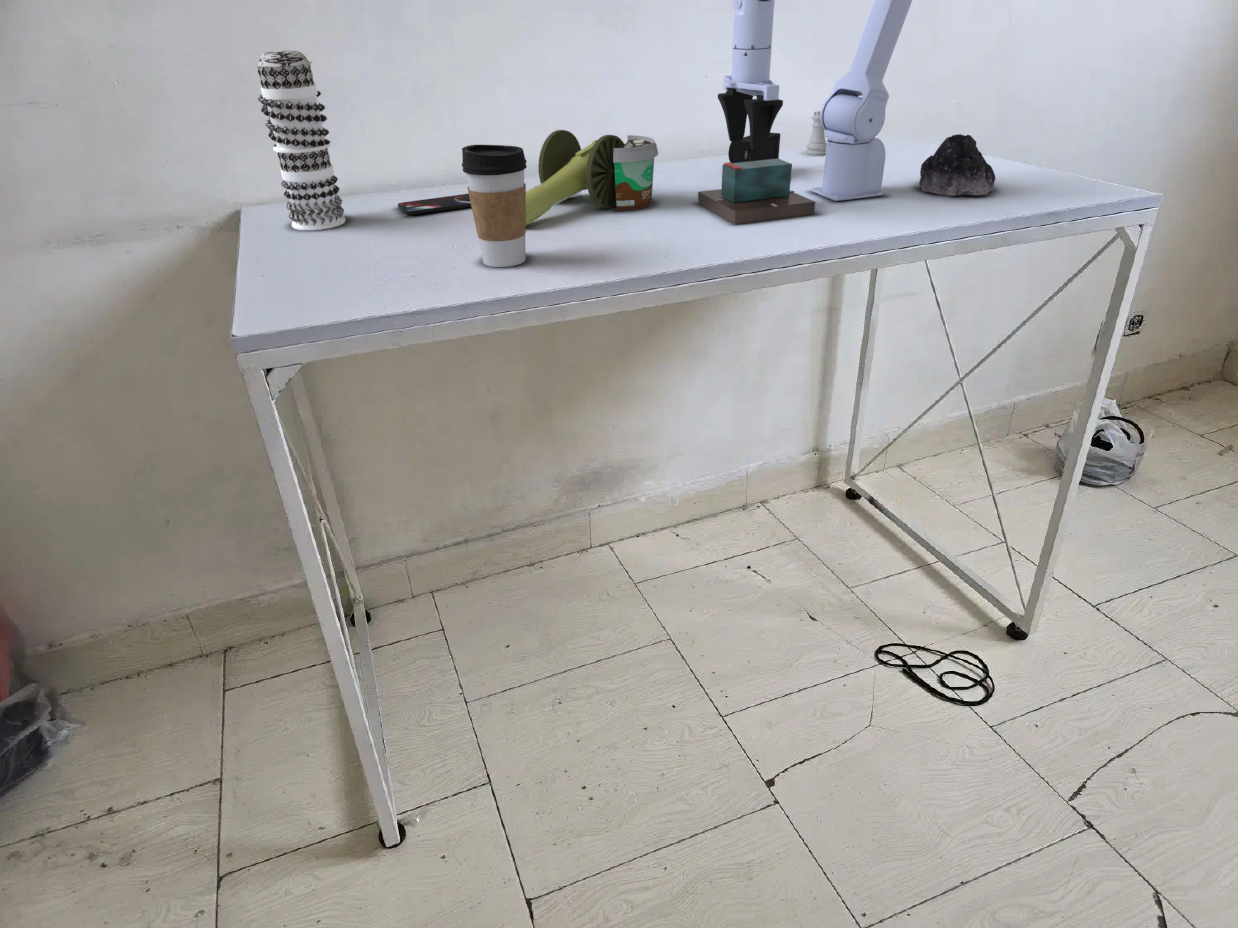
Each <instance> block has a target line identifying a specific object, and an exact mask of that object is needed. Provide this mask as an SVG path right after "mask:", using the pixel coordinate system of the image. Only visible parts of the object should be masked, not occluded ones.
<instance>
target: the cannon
mask: <svg viewBox="0 0 1238 928" xmlns="http://www.w3.org/2000/svg"><path fill="white" fill-rule="evenodd" d="M622 144H625V142H624V141H623V140H622V139H621V137H619V136H618V135H615V134H605V135H602V136H601V137H599V138H598V139H597V140H596V139H595V140H593V141H592V142H591V143H590V144H588V145H586V146H585V147H583V148H582V147H581V145H580V142H579V140H578V138H577V137H576V136H575V135H574V133H572V132H571V131H569V130H566V129H557V130H554V131H552V132H551V133H550V134H549V135H547V137H546V138H545V140H544V142H543V144H542V145H541V149H540V151H539V157H538V178H539V182H540V184H539V185H534V186H533V187H531V188H530V189H528V190H526V227H527V226H528V225H530V224H532V223H533V222H534V221H536V220H538V219H539V218H541V217H542V216H543V215H545V214H546V213H549V211H551V209H552V207H555V206H556V205H559V203H560V204H561V203H562V202H564V201H566V200H568V199H570V198H571V197H573V196H575V195H577V194H578V193H581V192H582V191H587V192H588V195H589V198H590V199H591V200H592V202H593V203H594V204H595V205H596V206H597V207H599V208H604V209H612V208H614V207H615V206H616V188H615V168H614V162H613V153H614V148H620V147H621V145H622Z"/></svg>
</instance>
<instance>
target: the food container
mask: <svg viewBox="0 0 1238 928" xmlns="http://www.w3.org/2000/svg"><path fill="white" fill-rule="evenodd" d="M657 156H659V150H658V146H657V142H656V140H655V139H654V138H653V137H649V136H646V135H645V136H644V135H635V134H634V135H632V134H627V140H626V143H624V144H622V145H621V147H620V148H614V153H613V162H614V168H615V188H616V205H615V206H616V211H617V212H624V211H625V212H626V211H636V210H641V209H646V208H648V207H650V206H651V205H652V202H653V201H652V200H653V185H654V168H655V158H656V157H657Z"/></svg>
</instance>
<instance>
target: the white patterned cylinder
mask: <svg viewBox="0 0 1238 928" xmlns="http://www.w3.org/2000/svg"><path fill="white" fill-rule="evenodd" d="M311 64H313V61H310V60H309V59H308V58H307V57H306V56H305V54H304V53H303V52H301V51H299V50H277V51H267V52H264V53H262V54H261V55H260V57H259V61H258V63H257V64H255V65H254V66H255V67H256V71H257V74H258V78H259V82H260V93H261V95H259V96H258V98H257V100H258V102H259V103H261V104H262V107H261V109H260V112H261V113H263V115H264V116H267V117H268V118H267V119H266V122H265V123H264V125H265V127H266V128H268V130H269V133H268V134H267V135H268V137H269V138H270V140H271V141H274V142H275V143H274V144H273V147H272V150H273V151H274V152H275V153H277V158H278V161H279V166H280V171H279V172H280V175H281V180H282V182H281V183H280V184H281V185H280V186H281V187H283V188H284V189H286V190H285V191H284V192H283V196H284V197H285V198H286V199H288V201H287V202H286V205H285V206H286V207H285V208H286V209H287V210H288V211H289V212H288V218H289V219H290V220H291V221H292V222H291V227H292V229H294V230H299V231H320V230H326V229H332V228H336V227H339V226H342V225H343V224H345V223H346V217H345V216H344V213H345V209H344V207H342V203H343V198H341V196H339V195H338V193H339V192H340V190H341V189H340V187H339V186H338V185H336V183H337V182H338V181H339V180H338V177H337V176H336V175H335V170H334V165H333V164H332V162H331V158H330V153H329V148H330V146H331V141H330V140H329V139H327V136H328V135H329V134H330V131H329V129H327V128H325V127H324V126H323V124H324V123H325V122H326V121H327V120H328V117H327V116H326V115H324V114H323V111H324V110H325V109H326V106H325V104H322V103H321V102H320V101H319V102H318V99H319V97H320V96H321V95H322V93H321V91H320V90H318V88H317V84H316V83H315V81H314V74H313V71H312V66H311Z"/></svg>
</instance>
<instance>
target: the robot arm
mask: <svg viewBox="0 0 1238 928" xmlns="http://www.w3.org/2000/svg"><path fill="white" fill-rule="evenodd" d="M912 2H913V0H873V3H872V5H871V9H870V12H869V15H868V17H867V20H866V23H865V26H864V28H863V31H862V34H861V37H860V40H859V43H858V46H857V48H856V51H855V54H854V56H853V59H852V61H851V65H850V67H849V71H848V72H846V73H845V74H844V75H843V76H842V77H841V78H840V79H838V80H837V81H836V82H835V83H834V86H833V88H832V91H831V93H830V94H829V96H828V97H827V98H826V100H824V103H823V104H822V106H821V109H820V121H821V124H822V127H823V128H824V129H825V138H826V144H827V146H826V154H825V156H824V164H823V165H824V166H823V175H822V186H821V187H812V188H811V192H813V193H815V194H817V195H820V196H823V197H824V198H827V199H830V200H832V201H835V202H839V201H848V200H849V201H850V200H856V199H864V198H873V197H879V196H880V197H881V196H883V195H884V191H881V190H882V185H883V177H884V171H885V163H886V157H887V156H886V155H887V154H886V147H885V144H884V142H883V141H882V140H881V139H880V138H878V137H877V136H878V135H879V133H881V131H882V130H883V129H882V128H883V127H884V124H885V120H886V107H887V104H888V101H889V98H890V95H889V92H888V90H887V88H886V86H885V84H884V82H883V80H884V78H885V75H886V72H887V69H888V67H889V64H890V61H891V58H892V56H893V53H894V50H895V48H896V45H897V42H898V40H899V37H900V36H901V35H900V34H901V32H902V30H903V26H904V23H905V21H906V18H907V15H908V13H909V11H910V7H911V5H912ZM732 4H733V5H732V8H733V30H732V57H731V58H732V59H731V74H730V75H724V76H723V87H722V88H723V90H725V92H722V93H721V92H720V93H718V94H717V100H718V101H719V104H720V106H721V109H722V111H723V115H724V118H725V123H726V129H727V135H728V138H729V141H730V142H732V141H741V140H743V138H744V137H745V132H746V128H747V127H746V126H747V125H746V124H747V119H748V123H749V135H750V144H751V149H752V150H758V149H765V147H766V144H767V141H768V137H769V134H770V133H771V131H772V128H773V124H774V123H775V120H776V118H777V116H778V115H779V112H780V111H781V109H782V107H783V106H784V100H782V99H780V98H779V97H780V96H779V95H780V85H779V84H776V83H775V82H773V80H771V78H770V76H771V62H772V61H771V60H772V46H773V45H772V43H773V31H774V30H773V28H774V14H775V0H733V3H732ZM754 97H756V98H754Z"/></svg>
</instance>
